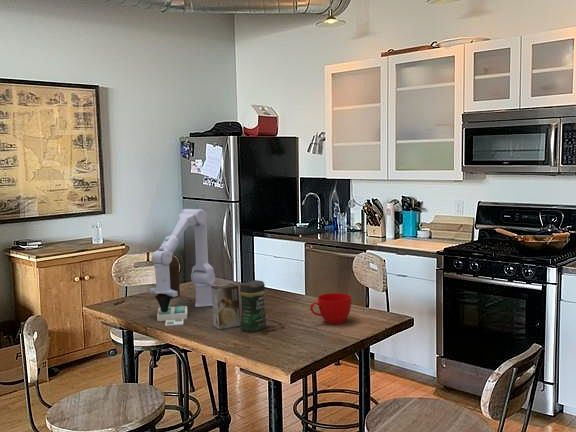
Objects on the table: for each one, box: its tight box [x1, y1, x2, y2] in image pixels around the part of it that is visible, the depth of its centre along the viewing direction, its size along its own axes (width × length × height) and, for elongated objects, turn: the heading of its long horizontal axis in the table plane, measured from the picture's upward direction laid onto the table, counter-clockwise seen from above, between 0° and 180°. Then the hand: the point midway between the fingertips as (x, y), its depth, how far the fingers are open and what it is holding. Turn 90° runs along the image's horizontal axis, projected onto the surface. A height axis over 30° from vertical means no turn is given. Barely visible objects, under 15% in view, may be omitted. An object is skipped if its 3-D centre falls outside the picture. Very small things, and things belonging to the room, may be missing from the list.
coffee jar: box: [239, 279, 267, 333], centre depth 226 cm, size 10×8×19 cm
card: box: [164, 319, 184, 327], centre depth 239 cm, size 7×7×1 cm
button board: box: [156, 305, 188, 322], centre depth 248 cm, size 12×12×2 cm
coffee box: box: [211, 282, 241, 330], centre depth 231 cm, size 9×6×16 cm
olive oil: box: [169, 254, 181, 299], centre depth 283 cm, size 11×11×25 cm
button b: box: [174, 305, 184, 314], centre depth 245 cm, size 4×4×2 cm
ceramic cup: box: [309, 292, 352, 325], centre depth 231 cm, size 13×17×10 cm
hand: (164, 311), depth 244 cm, fingers closed, pressing on button d
